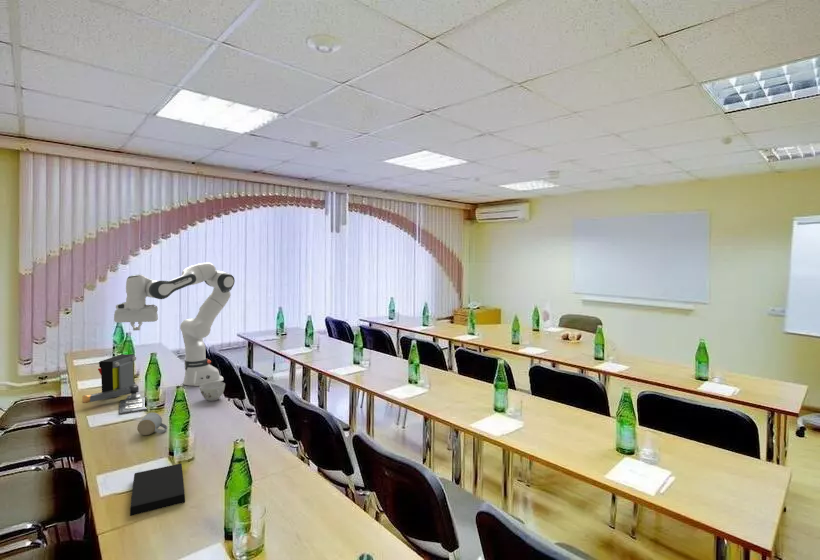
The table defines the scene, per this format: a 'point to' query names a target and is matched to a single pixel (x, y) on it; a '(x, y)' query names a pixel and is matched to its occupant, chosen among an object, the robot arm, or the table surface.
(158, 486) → the external hard drive
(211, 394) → the teacup
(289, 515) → the table surface
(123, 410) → the plate
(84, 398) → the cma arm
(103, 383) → the electrical component
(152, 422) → the ceramic mug
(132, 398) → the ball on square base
